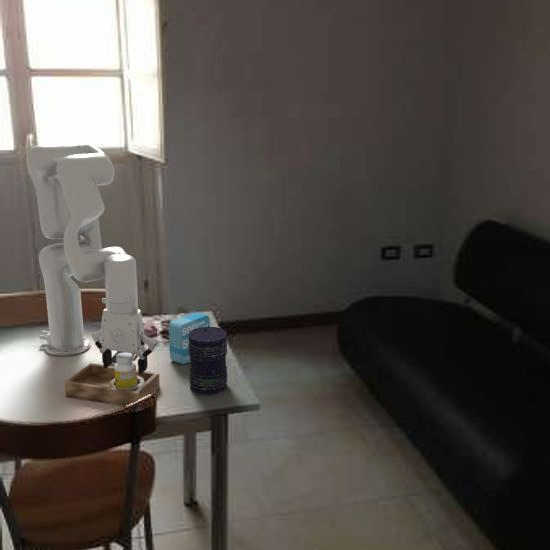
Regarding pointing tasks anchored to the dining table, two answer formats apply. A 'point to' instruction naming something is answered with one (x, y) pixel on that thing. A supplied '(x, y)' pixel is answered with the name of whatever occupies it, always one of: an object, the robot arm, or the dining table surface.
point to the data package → (184, 335)
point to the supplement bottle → (125, 371)
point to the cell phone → (119, 353)
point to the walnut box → (109, 386)
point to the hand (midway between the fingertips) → (125, 368)
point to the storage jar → (208, 360)
